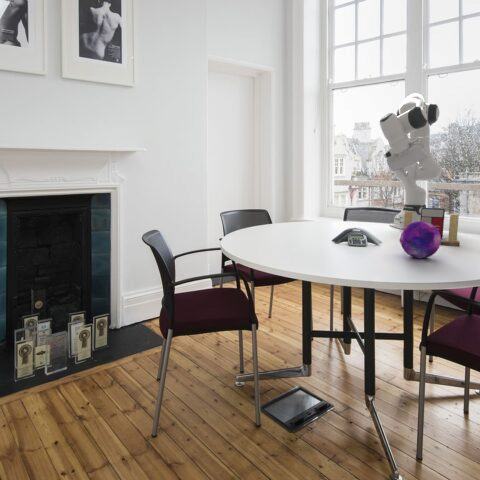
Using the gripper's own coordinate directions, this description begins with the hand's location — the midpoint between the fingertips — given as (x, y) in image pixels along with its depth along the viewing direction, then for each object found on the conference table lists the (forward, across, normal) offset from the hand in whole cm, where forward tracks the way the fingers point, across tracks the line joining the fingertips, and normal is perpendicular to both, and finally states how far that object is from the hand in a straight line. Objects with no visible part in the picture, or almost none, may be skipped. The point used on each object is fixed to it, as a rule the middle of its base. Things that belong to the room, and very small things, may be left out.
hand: (415, 173), depth 205 cm
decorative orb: (+26, -12, +39) cm, 48 cm away
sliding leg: (+27, +14, +9) cm, 32 cm away
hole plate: (+37, +8, -3) cm, 38 cm away
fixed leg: (+37, -2, +1) cm, 37 cm away
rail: (+33, +7, +6) cm, 35 cm away
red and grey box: (+37, +17, -11) cm, 42 cm away
